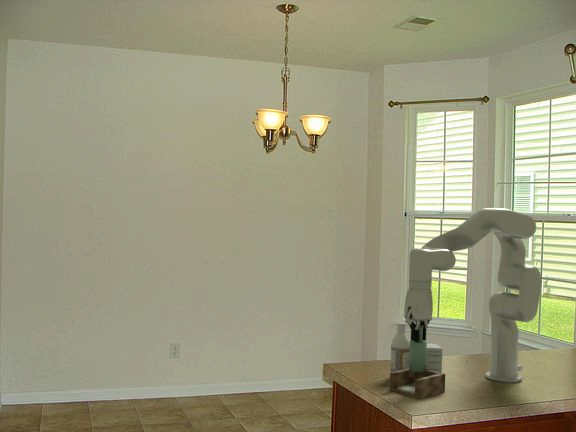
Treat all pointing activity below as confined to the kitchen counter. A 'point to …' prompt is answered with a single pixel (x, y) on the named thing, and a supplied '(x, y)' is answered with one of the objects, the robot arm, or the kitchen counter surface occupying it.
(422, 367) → the green bottle
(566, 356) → the kitchen counter surface
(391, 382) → the walnut U-rest
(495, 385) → the kitchen counter surface
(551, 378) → the kitchen counter surface
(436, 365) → the supplement box
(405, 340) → the bath foam
